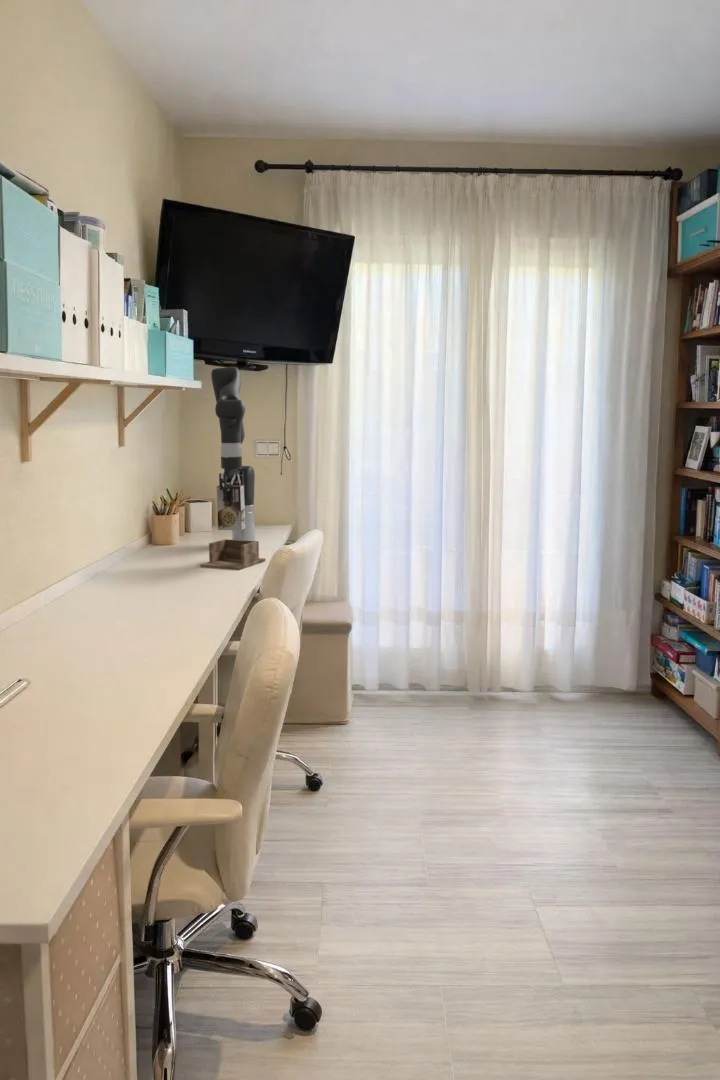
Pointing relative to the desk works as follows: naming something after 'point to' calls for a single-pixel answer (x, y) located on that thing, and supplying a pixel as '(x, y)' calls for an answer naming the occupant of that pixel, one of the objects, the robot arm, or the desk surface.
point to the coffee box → (231, 509)
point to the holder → (233, 554)
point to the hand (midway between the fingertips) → (232, 500)
